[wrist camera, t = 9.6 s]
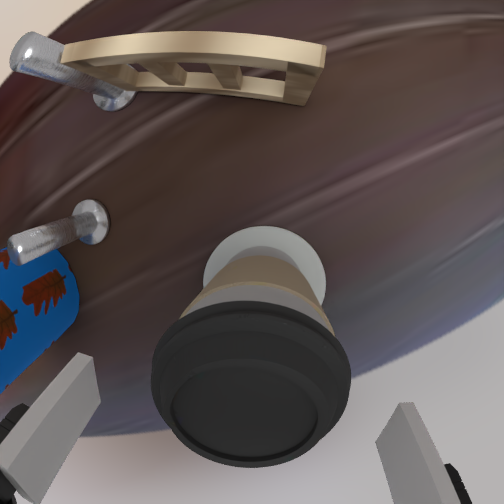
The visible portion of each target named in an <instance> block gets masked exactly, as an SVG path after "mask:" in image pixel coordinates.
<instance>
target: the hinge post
mask: <svg viewBox="0 0 504 504" xmlns="http://www.w3.org/2000/svg"><path fill="white" fill-rule="evenodd" d="M64 48H65V45H63V44H60V43H58V42H56V41H54V40H52V39H49V38H47V37H45V36H42V35H40V34H38V33H35V32H28V33H26V34H25V35H24V36H22V37H21V38H20V40H19V41H18V42H17V43H16V45H15V47H14V48H13V51H12V53H11V56H10V68H11V69H12V70H13V71H17V72H21V73H25V74H29V75H32V76H36V77H40V78H43V79H47V80H50V81H54V82H57V83H61V84H64V85H67V86H71V87H74V88H77V89H80V90H83V91H86V92H89V93H92V94H93V97H94V101H95V103H96V104H97V106H98V107H99V108H101V109H103V110H106V111H111V112H114V111H119V110H122V109H124V108H125V107H127V106H128V105H129V104H130V103H131V102H132V101H133V100H134V98H135V97H136V95H137V93H138V91H125V90H123V89H121V88H118V87H116V86H114V85H112V84H109V83H107V82H105V81H102V80H100V79H98V78H95V77H93V76H91V75H88V74H86V73H83V72H81V71H78V70H76V69H73V68H71V67H68V66H66V65H63V64H61V63H60V62H61V58H62V55H63V51H64ZM127 65H128V64H127ZM128 66H130V65H128ZM130 67H132V66H130ZM132 68H133V67H132ZM133 69H135V68H133ZM135 70H136V69H135Z"/></svg>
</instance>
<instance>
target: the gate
mask: <svg viewBox="0 0 504 504" xmlns="http://www.w3.org/2000/svg"><path fill="white" fill-rule="evenodd" d="M325 54H326V46H324V45H319V44H314V43H309V42H304V41H298V40H292V39H286V38H279V37H272V36H264V35H255V34H244V33H230V32H208V31H175V32H153V33H139V34H129V35H120V36H112V37H105V38H98V39H92V40H87V41H81V42H76V43H71V44H67V45H65V48H64V51H63V55H62V58H61V62H60V63H61V64H63V65H66V66H68V67H71V68H73V69H76V70H78V71H81V72H83V73H86V74H88V75H91V76H93V77H95V78H98V79H100V80H102V81H105V82H107V83H109V84H112V85H114V86H116V87H118V88H121V89H123V90H125V91H173V92H194V93H209V94H221V95H231V96H240V97H249V98H256V99H264V100H270V101H277V102H283V103H289V104H295V105H300V106H305V104H306V102H307V100H308V98H309V96H310V94H311V92H312V90H313V88H314V86H315V84H316V82H317V80H318V78H319V76H320V74H321V72H322V70H323V68H324V62H325ZM177 62H189V63H207V64H208V66H209V67H210V69H211V70H212V72H213V73H198V72H186V71H185V70H184V69H183V68H182V67H181V66H180V65H179V64H178V63H177ZM130 63H138V64H140V65H141V66H143V67H144V68H145V69H147V70H148V71H150V72H138V71H136V70H135V69H133V68H132V67H130V66H128V65H127V64H130ZM239 66H248V67H257V68H265V69H272V70H279V71H285V72H287V73H286V80H285V82H284V81H278V80H271V79H264V78H256V77H248V76H243V75H242V73H241V70H240V67H239Z"/></svg>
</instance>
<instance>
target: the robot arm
mask: <svg viewBox="0 0 504 504" xmlns="http://www.w3.org/2000/svg"><path fill="white" fill-rule="evenodd" d="M100 403H101V400H100V395H99V390H98V385H97V379H96V374H95V368H94V362H93V357H91V356H88V355H85V354H82V353H79V352H78V353H77V354H76V355H75V356H74V357H73V358H72V360H71V361H70V362H69V363H68V364H67V365H66V366H65V367H64V368H63V370H62V371H61V372H60V373H59V374H58V375H57V376H56V378H55V379H54V380H53V381H52V382H51V383H50V384H49V386H48V387H47V388H46V389H45V390H44V391H43V393H42V394H41V395H40V396H39V397H38V398H37V400H36V401H35V402H34V403H33V404H32V406H31V407H28V406H26V405H25V404H23V403H22V404H20V405H18V406H16V407H14V408H13V409H11V411H10V412H9V413H8V414H7V415H6V416H5V419H3V420H2V421H1V422H0V504H17V502H16V499H15V496H14V493H15V491H16V490H17V492H18V493H19V494H20V495H21V496H22V497H23V498H25V499H26V500H28V501H29V502H31V503H33V504H40V503H41V501H42V499H43V498H44V496H45V494H46V492H47V490H48V489H49V487H50V485H51V483H52V481H53V480H54V478H55V476H56V475H57V473H58V471H59V469H60V468H61V466H62V464H63V463H64V461H65V459H66V458H67V456H68V454H69V453H70V451H71V449H72V448H73V446H74V444H75V443H76V441H77V439H78V438H79V436H80V435H81V433H82V431H83V430H84V428H85V426H86V425H87V423H88V422H89V420H90V418H91V417H92V415H93V414H94V412H95V410H96V409H97V407H98V406H99V404H100ZM376 445H377V449H378V452H379V455H380V458H381V462H382V464H383V468H384V471H385V474H386V478H387V481H388V485H389V488H390V492H391V495H392V499H393V502H394V504H472V502H471V500H470V497H469V495H468V493H467V491H466V489H465V486H464V484H463V482H461V481H462V480H461V478H460V476H459V473H458V471H457V470H456V469H455V468H454V467H453V466H452V465H451V464H450V463H449V464H445V465H444V464H443V462H442V460H441V458H440V456H439V453H438V451H437V450H436V447H435V445H434V443H433V441H432V439H431V437H430V435H429V433H428V431H427V429H426V427H425V425H424V423H423V421H422V419H421V417H420V415H419V413H418V411H417V409H416V407H415V405H414V403H413V402H411V403H410V402H409V403H399V404H398V406H397V408H396V409H395V411H394V413H393V415H392V416H391V418H390V420H389V421H388V423H387V425H386V426H385V428H384V429H383V431H382V433H381V434H380V436H379V437H378V439H377V441H376Z"/></svg>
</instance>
